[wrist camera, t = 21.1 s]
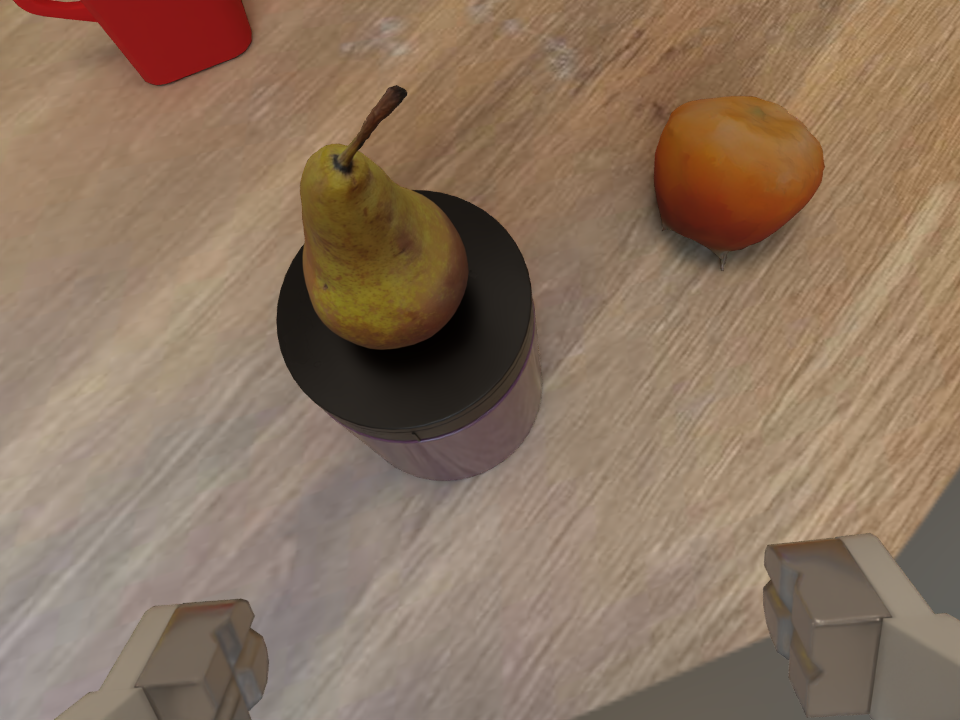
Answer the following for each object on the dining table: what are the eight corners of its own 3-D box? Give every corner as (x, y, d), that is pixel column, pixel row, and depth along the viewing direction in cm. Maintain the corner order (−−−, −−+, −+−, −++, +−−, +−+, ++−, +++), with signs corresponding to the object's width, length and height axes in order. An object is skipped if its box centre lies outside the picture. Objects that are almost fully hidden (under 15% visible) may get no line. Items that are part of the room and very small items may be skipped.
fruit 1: (406, 208, 28) (299, -55, 17) (506, 299, 26) (461, 73, 15) (300, 301, 27) (114, 90, 16) (395, 401, 26) (262, 243, 14)
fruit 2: (603, 248, 37) (654, 103, 32) (653, 191, 43) (704, 58, 37) (749, 315, 35) (831, 172, 30) (782, 246, 41) (856, 114, 35)
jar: (554, 468, 35) (550, 415, 25) (359, 492, 36) (281, 450, 26) (529, 287, 39) (517, 179, 29) (351, 313, 39) (279, 216, 30)
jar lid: (548, 426, 27) (547, 414, 25) (294, 457, 27) (275, 447, 26) (519, 198, 30) (516, 172, 28) (292, 231, 31) (276, 208, 29)
